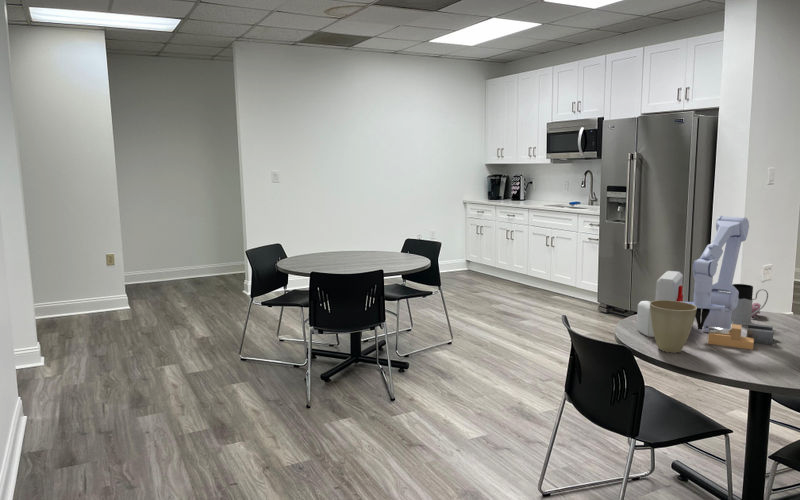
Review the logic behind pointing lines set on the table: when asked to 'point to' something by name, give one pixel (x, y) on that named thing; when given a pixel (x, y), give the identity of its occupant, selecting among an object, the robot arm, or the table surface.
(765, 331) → the v-block
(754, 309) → the pink lumpy figurine
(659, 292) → the bevelled white case
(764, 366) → the table surface
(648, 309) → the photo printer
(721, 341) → the bearing beam
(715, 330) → the axle
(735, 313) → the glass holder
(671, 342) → the plant pot
